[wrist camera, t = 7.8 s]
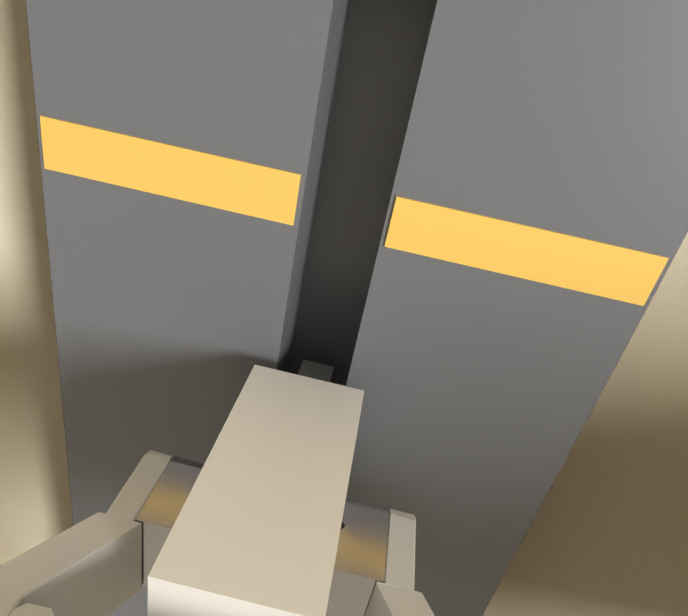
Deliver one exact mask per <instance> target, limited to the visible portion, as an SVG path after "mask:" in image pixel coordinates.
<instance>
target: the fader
mask: <svg viewBox="0 0 688 616" xmlns="http://www.w3.org/2000/svg"><path fill="white" fill-rule="evenodd" d="M333 369H334V367H333V366H329V365H325V364H321V363H316V362H312V361H308V360H304V359H303V361H302V364H301V367H300V370H299V372H298V375H297V374H292V373H288V372H284V371H280V370H276V369H272V368H267V367H263V366H259V365H254V367H253V369H252V371H251V373H250V375H249V377H248V379H247V381H246V383H245V385H244V387H243V389H242V391H241V393H240V395H239V397H238V398H237V400H236V402H235V404H234V406H233V408H232V410H231V412H230V414H229V416H228V418H227V420H226V422H225V424H224V426H223V428H222V430H221V432H220V434H219V436H218V438H217V440H216V442H215V444H214V446H213V448H212V450H211V452H210V454H209V456H208V458H207V460H206V462H205V464H204V466H203V468H202V470H201V472H200V474H199V476H198V478H197V480H196V482H195V484H194V486H193V488H192V490H191V492H190V494H189V496H188V498H187V500H186V502H185V504H184V506H183V508H182V510H181V512H180V514H179V516H178V518H177V519H176V521H175V523H174V525H173V527H172V529H171V531H170V533H169V535H168V537H167V539H166V541H165V543H164V545H163V547H162V549H161V551H160V553H159V555H158V557H157V559H156V561H155V563H154V565H153V567H152V569H151V571H150V573H149V575H148V605H147V616H326V611H327V605H328V599H329V593H330V588H331V582H332V576H333V570H334V564H335V559H336V553H337V547H338V541H339V535H340V530H341V524H342V518H343V512H344V506H345V501H346V495H347V489H348V483H349V477H350V472H351V466H352V460H353V454H354V448H355V443H356V437H357V431H358V425H359V420H360V414H361V408H362V402H363V396H364V390H360V389H355V388H351V387H347V386H343V385H339V384H334V383H330V382H331V378H332V373H333Z"/></svg>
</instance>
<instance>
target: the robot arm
mask: <svg viewBox="0 0 688 616" xmlns="http://www.w3.org/2000/svg"><path fill="white" fill-rule="evenodd" d="M203 466H204V464H202V463H199V462H195V461H191V460H188V459H184V458H180V457H177V456H172V455H168V454H164V453H161V452H157V451H153V450H150V451H149V452H148V453H146V454H145V455H144V456H143V458H142V459H141V461H140V462H139V464H138V465H137V467H136V468H135V470H134V471H133V473H132V474H131V476H130V477H129V479H128V481H127V482H126V484H125V485H124V487H123V488H122V490H121V491H120V493H119V494H118V496H117V497H116V499H115V500H114V502H113V503H112V505H111V506H110V508H109V509H108V511H107V512H106V514H105V513H101V512H97V513H96V514H94V515H92V516H90V517H88V518H87V519H85V520H83V521H81V522H79V523H78V524H76V525H74V526H72V527H70V528H68V529H67V530H65V531H63V532H61V533H59V534H58V535H56V536H54V537H52V538H50V539H48V540H47V541H45V542H43V543H41V544H39V545H38V546H36V547H34V548H32V549H30V550H29V551H27V552H25V553H23V554H21V555H19V556H18V557H16V558H14V559H12V560H10V561H9V562H7V563H5V564H3V565H1V566H0V616H109V615H110V614H111V613H112V612H114V611H115V610H116V609H117V608H119V607H120V606H121V605H122V604H123V603H125V602H126V601H127V600H128V599H130V598H131V597H132V596H133V595H134V594H136V593H137V592H138V591H139V590H141V589H142V586H145V587H148V575H149V573H150V571H151V569H152V567H153V565H154V563H155V561H156V559H157V557H158V555H159V553H160V551H161V549H162V547H163V545H164V543H165V541H166V539H167V537H168V535H169V533H170V531H171V529H172V527H173V525H174V523H175V521H176V519H177V518H178V516H179V514H180V512H181V510H182V508H183V506H184V504H185V502H186V500H187V498H188V496H189V494H190V492H191V490H192V488H193V486H194V484H195V482H196V480H197V478H198V476H199V474H200V472H201V470H202V468H203ZM415 541H416V518H415V515H414V514H410V513H405V512H401V511H397V510H393V509H389V508H386V507H382V506H377V505H373V504H369V503H364V502H360V501H356V500H351V499H347V498H346V501H345V506H344V512H343V518H342V524H341V530H340V535H339V541H338V547H337V553H336V559H335V564H334V570H333V576H332V582H331V588H330V593H329V599H328V605H327V611H326V616H435V615H434V613H433V612H432V610H431V608H430V606H429V605H428V603H427V601H426V599H425V597H424V596H423V594H422V593H421V592H418V591H414V583H415Z"/></svg>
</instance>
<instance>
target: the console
mask: <svg viewBox="0 0 688 616" xmlns="http://www.w3.org/2000/svg"><path fill="white" fill-rule="evenodd" d="M26 7H27V18H28V29H29V40H30V52H31V63H32V74H33V85H34V96H35V107H36V118H37V129H38V140H39V151H40V162H41V173H42V184H43V195H44V206H45V217H46V228H47V239H48V250H49V261H50V272H51V283H52V294H53V305H54V316H55V327H56V338H57V349H58V360H59V371H60V382H61V393H62V404H63V415H64V426H65V437H66V448H67V459H68V471H69V482H70V493H71V504H72V515H73V526H74V525H76V524H78V523H79V522H81V521H83V520H85V519H87V518H88V517H90V516H92V515H94V514H96V513H97V512H101V513H105V514H106V512H107V511H108V509H109V508H110V506H111V505H112V503H113V502H114V500H115V499H116V497H117V496H118V494H119V493H120V491H121V490H122V488H123V487H124V485H125V484H126V482H127V481H128V479H129V477H130V476H131V474H132V473H133V471H134V470H135V468H136V467H137V465H138V464H139V462H140V461H141V459H142V458H143V456H144V455H145V454H146V453H148V452H149V451H150V450H153V451H157V452H161V453H164V454H168V455H172V456H177V457H180V458H184V459H188V460H191V461H195V462H199V463H202V464H205V462H206V460H207V458H208V456H209V454H210V452H211V450H212V448H213V446H214V444H215V442H216V440H217V438H218V436H219V434H220V432H221V430H222V428H223V426H224V424H225V422H226V420H227V418H228V416H229V414H230V412H231V410H232V408H233V406H234V404H235V402H236V400H237V398H238V397H239V395H240V393H241V391H242V389H243V387H244V385H245V383H246V381H247V379H248V377H249V375H250V373H251V371H252V369H253V367H254V365H259V366H263V367H267V368H272V369H276V370H280V371H284V372H288V373H292V374H297V375H298V372H299V370H300V367H301V364H302V361H303V359H304V360H308V361H312V362H316V363H321V364H325V365H329V366H333V367H334V369H333V373H332V378H331V382H330V383H334V384H339V385H343V386H347V387H351V388H355V389H360V390H364V396H363V402H362V408H361V414H360V420H359V425H358V431H357V437H356V443H355V448H354V454H353V460H352V466H351V472H350V477H349V483H348V489H347V495H346V498H347V499H351V500H356V501H360V502H364V503H369V504H373V505H377V506H382V507H386V508H389V509H393V510H397V511H401V512H405V513H410V514H414V515H415V518H416V541H415V583H414V591H418V592H421V593H422V594H423V596H424V597H425V599H426V601H427V603H428V605H429V606H430V608H431V610H432V612H433V613H434V615H435V616H482V615H483V613H484V611H485V609H486V608H487V606H488V604H489V602H490V600H491V598H492V596H493V595H494V593H495V591H496V589H497V587H498V585H499V583H500V581H501V580H502V578H503V576H504V574H505V572H506V570H507V568H508V566H509V565H510V563H511V561H512V559H513V557H514V555H515V553H516V552H517V550H518V548H519V546H520V544H521V542H522V540H523V538H524V537H525V535H526V533H527V531H528V529H529V527H530V525H531V524H532V522H533V520H534V518H535V516H536V514H537V512H538V510H539V509H540V507H541V505H542V503H543V501H544V499H545V497H546V495H547V494H548V492H549V490H550V488H551V486H552V484H553V482H554V481H555V479H556V477H557V475H558V473H559V471H560V469H561V467H562V466H563V464H564V462H565V460H566V458H567V456H568V454H569V453H570V451H571V449H572V447H573V445H574V443H575V441H576V439H577V438H578V436H579V434H580V432H581V430H582V428H583V426H584V425H585V423H586V421H587V419H588V417H589V415H590V413H591V411H592V410H593V408H594V406H595V404H596V402H597V400H598V398H599V396H600V395H601V393H602V391H603V389H604V387H605V385H606V383H607V382H608V380H609V378H610V376H611V374H612V372H613V370H614V368H615V367H616V365H617V363H618V361H619V359H620V357H621V355H622V354H623V352H624V350H625V348H626V346H627V344H628V342H629V340H630V339H631V337H632V335H633V333H634V331H635V329H636V327H637V326H638V324H639V322H640V320H641V318H642V316H643V314H644V312H645V311H646V309H647V307H648V305H649V303H650V301H651V299H652V297H653V296H654V294H655V292H656V290H657V288H658V286H659V284H660V283H661V281H662V279H663V277H664V275H665V273H666V271H667V269H668V268H669V266H670V264H671V262H672V260H673V258H674V256H675V255H676V253H677V251H678V249H679V247H680V245H681V243H682V241H683V240H684V238H685V236H686V234H687V232H688V0H26ZM147 605H148V587H145V586H142V589H141V590H139V591H138V592H137V593H136V594H134V595H133V596H132V597H131V598H130V599H128V600H127V601H126V602H125V603H123V604H122V605H121V606H120V607H119V608H117V609H116V610H115V611H114V612H112V613H111V614H110V615H109V616H147Z"/></svg>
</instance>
